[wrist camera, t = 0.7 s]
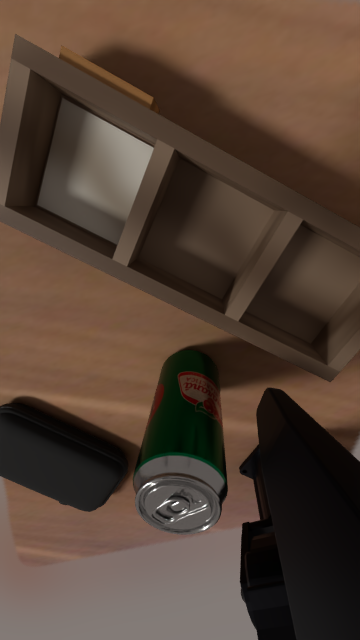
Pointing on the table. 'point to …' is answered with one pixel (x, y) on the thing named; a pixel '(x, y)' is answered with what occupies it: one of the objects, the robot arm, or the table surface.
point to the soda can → (183, 449)
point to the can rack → (174, 212)
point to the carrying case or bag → (57, 458)
